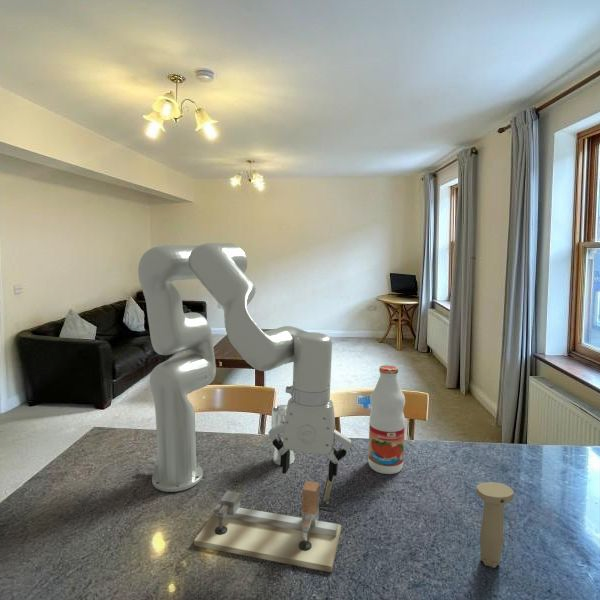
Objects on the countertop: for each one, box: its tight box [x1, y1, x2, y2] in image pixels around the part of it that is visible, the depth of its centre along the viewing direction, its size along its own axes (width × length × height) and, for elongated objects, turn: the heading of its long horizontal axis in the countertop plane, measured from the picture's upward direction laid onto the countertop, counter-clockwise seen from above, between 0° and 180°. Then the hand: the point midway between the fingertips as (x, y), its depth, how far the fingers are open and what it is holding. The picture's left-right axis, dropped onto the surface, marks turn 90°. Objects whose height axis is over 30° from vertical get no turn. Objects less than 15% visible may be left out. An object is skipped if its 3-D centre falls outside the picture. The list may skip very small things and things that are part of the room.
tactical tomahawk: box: [319, 475, 336, 513], centre depth 105 cm, size 21×7×1 cm, turn 166°
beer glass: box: [270, 404, 296, 466], centre depth 116 cm, size 7×7×15 cm
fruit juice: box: [367, 364, 406, 475], centre depth 113 cm, size 9×9×28 cm
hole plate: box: [193, 490, 342, 573], centre depth 86 cm, size 28×12×6 cm, turn 76°
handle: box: [475, 481, 515, 569], centre depth 79 cm, size 5×6×15 cm
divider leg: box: [301, 480, 320, 545], centre depth 85 cm, size 3×7×9 cm, turn 166°
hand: (308, 473), depth 86 cm, fingers open, 9 cm apart
